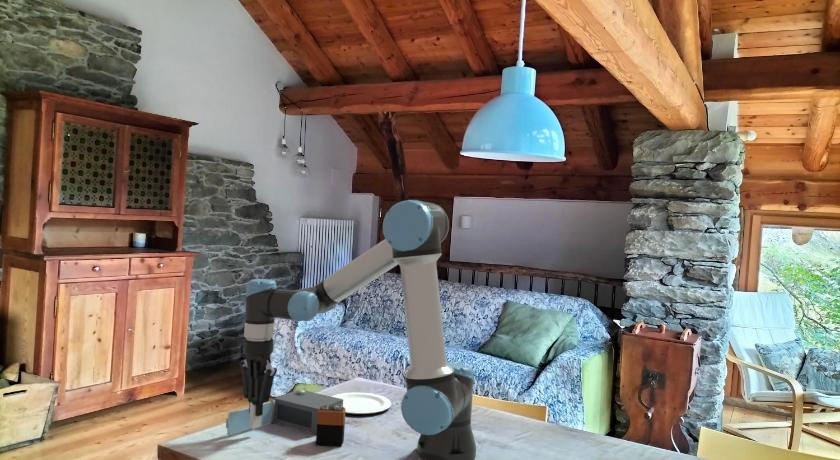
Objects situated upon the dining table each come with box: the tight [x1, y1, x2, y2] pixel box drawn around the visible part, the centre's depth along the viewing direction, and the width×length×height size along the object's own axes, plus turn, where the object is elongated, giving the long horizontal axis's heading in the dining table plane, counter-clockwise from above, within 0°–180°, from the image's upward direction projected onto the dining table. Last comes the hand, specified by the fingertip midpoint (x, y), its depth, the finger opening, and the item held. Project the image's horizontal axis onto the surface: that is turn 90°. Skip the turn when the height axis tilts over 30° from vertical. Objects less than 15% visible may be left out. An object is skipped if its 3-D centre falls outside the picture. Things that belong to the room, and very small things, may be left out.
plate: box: [331, 392, 392, 415], centre depth 187 cm, size 21×21×2 cm
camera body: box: [273, 388, 343, 435], centre depth 169 cm, size 18×11×8 cm, turn 63°
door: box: [225, 399, 275, 437], centre depth 162 cm, size 15×2×6 cm, turn 143°
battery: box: [315, 405, 346, 448], centre depth 155 cm, size 4×7×10 cm, turn 90°
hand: (255, 426), depth 157 cm, fingers closed
